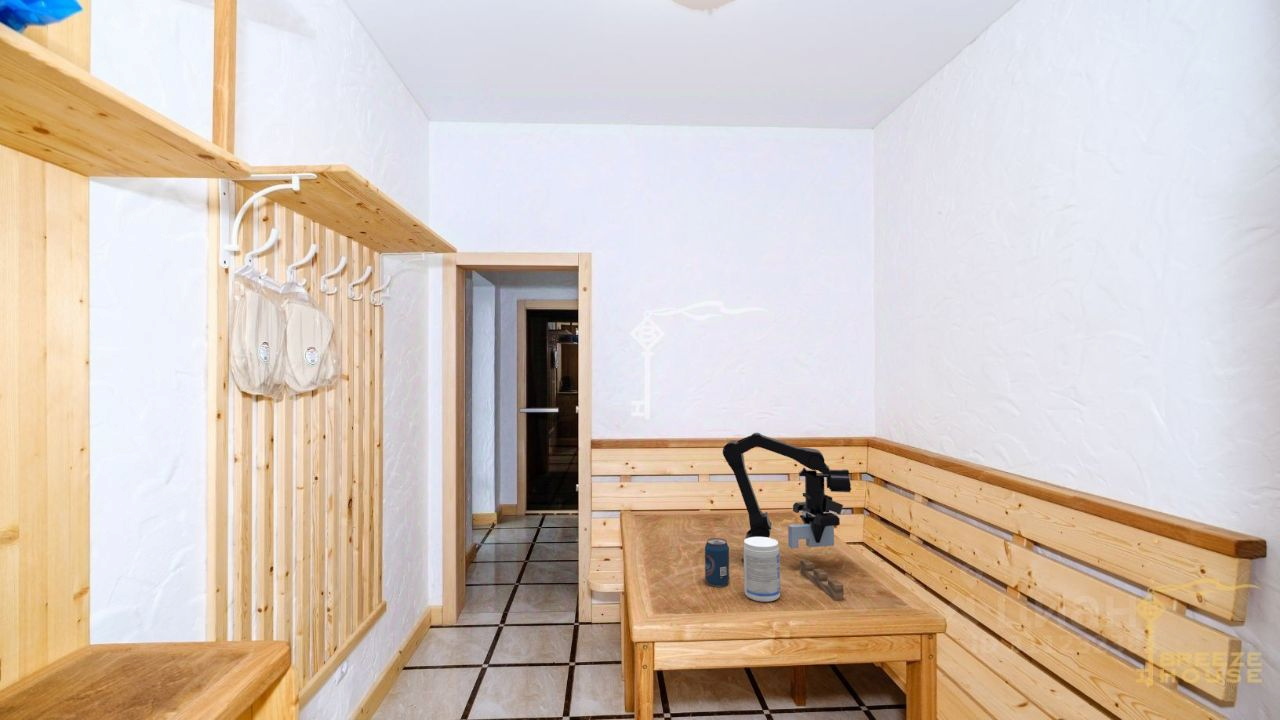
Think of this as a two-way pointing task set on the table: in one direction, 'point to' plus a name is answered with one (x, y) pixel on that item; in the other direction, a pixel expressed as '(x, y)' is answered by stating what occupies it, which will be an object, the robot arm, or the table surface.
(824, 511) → the robot arm
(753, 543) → the supplement tub
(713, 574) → the soda can
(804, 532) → the light blue slab
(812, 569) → the notched rail
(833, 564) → the table surface
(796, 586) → the table surface
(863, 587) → the table surface
